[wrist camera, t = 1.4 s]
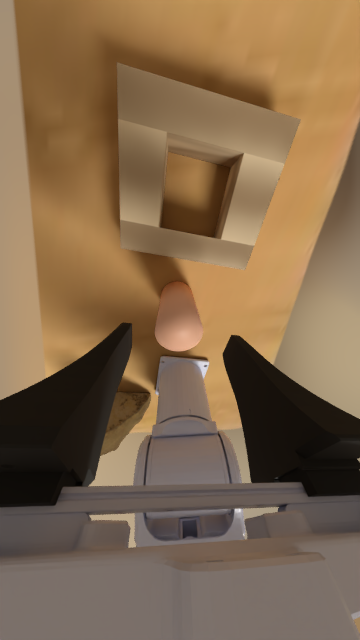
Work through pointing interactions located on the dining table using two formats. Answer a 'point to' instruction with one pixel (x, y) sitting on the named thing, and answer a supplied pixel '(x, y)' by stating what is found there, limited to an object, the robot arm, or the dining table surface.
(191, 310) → the peg
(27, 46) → the dining table surface
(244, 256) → the socket block
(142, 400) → the rock
